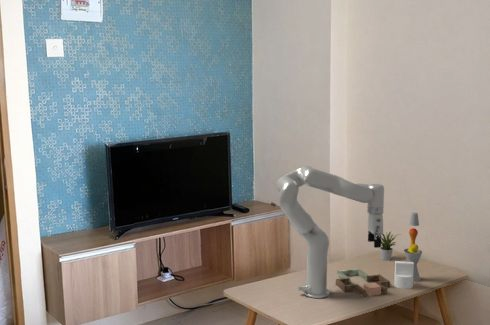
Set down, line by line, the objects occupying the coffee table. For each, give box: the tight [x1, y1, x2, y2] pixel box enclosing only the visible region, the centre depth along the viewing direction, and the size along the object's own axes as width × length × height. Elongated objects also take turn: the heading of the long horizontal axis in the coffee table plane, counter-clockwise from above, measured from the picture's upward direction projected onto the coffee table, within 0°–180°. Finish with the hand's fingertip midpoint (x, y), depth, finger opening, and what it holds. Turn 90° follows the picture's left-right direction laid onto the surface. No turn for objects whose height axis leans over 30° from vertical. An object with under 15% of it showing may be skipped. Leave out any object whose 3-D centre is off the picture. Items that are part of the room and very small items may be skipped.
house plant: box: [379, 231, 402, 261], centre depth 327 cm, size 14×14×16 cm
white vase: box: [393, 260, 414, 290], centre depth 286 cm, size 9×9×12 cm
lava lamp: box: [403, 212, 423, 283], centre depth 293 cm, size 9×9×35 cm
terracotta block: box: [363, 282, 382, 297], centre depth 277 cm, size 6×6×4 cm
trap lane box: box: [335, 268, 391, 298], centre depth 288 cm, size 24×29×3 cm
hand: (374, 244), depth 278 cm, fingers open, 9 cm apart
